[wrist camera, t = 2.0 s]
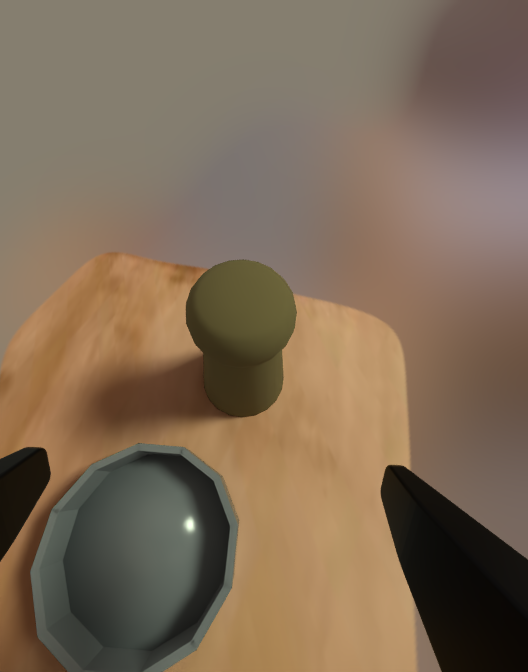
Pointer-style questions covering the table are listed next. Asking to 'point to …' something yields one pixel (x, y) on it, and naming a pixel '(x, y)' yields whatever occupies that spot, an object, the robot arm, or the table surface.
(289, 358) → the table surface
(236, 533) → the gray bowl
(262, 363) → the cork
